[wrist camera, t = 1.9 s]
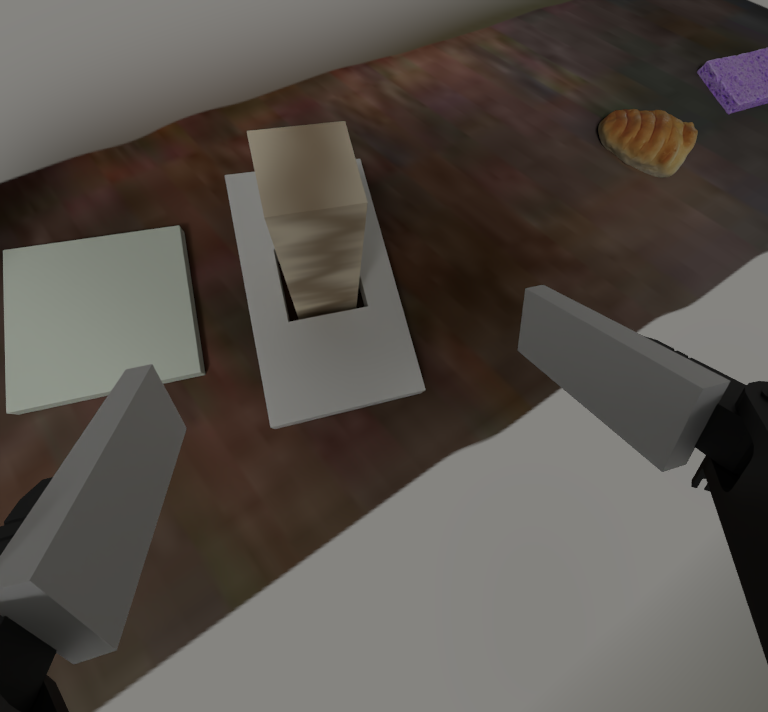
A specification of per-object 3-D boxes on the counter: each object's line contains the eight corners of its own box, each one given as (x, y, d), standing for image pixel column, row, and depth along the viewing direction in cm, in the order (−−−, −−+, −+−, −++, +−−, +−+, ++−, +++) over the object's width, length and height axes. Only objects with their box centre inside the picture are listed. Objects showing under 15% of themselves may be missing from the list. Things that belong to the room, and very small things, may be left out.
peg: (299, 320, 30) (264, 217, 16) (287, 267, 31) (246, 131, 18) (356, 308, 31) (367, 202, 17) (343, 258, 32) (344, 120, 18)
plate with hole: (275, 429, 28) (270, 427, 26) (231, 191, 32) (224, 175, 30) (420, 393, 30) (425, 389, 28) (359, 174, 34) (360, 158, 32)
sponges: (692, 75, 44) (706, 60, 43) (761, 58, 47) (778, 42, 45) (723, 119, 43) (740, 104, 41) (793, 98, 46) (812, 84, 44)
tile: (18, 414, 26) (6, 413, 25) (14, 256, 28) (2, 250, 27) (205, 374, 28) (200, 372, 27) (184, 232, 31) (179, 225, 30)
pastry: (589, 156, 39) (615, 126, 35) (597, 112, 40) (622, 79, 37) (667, 185, 39) (701, 158, 35) (671, 140, 41) (704, 110, 37)
